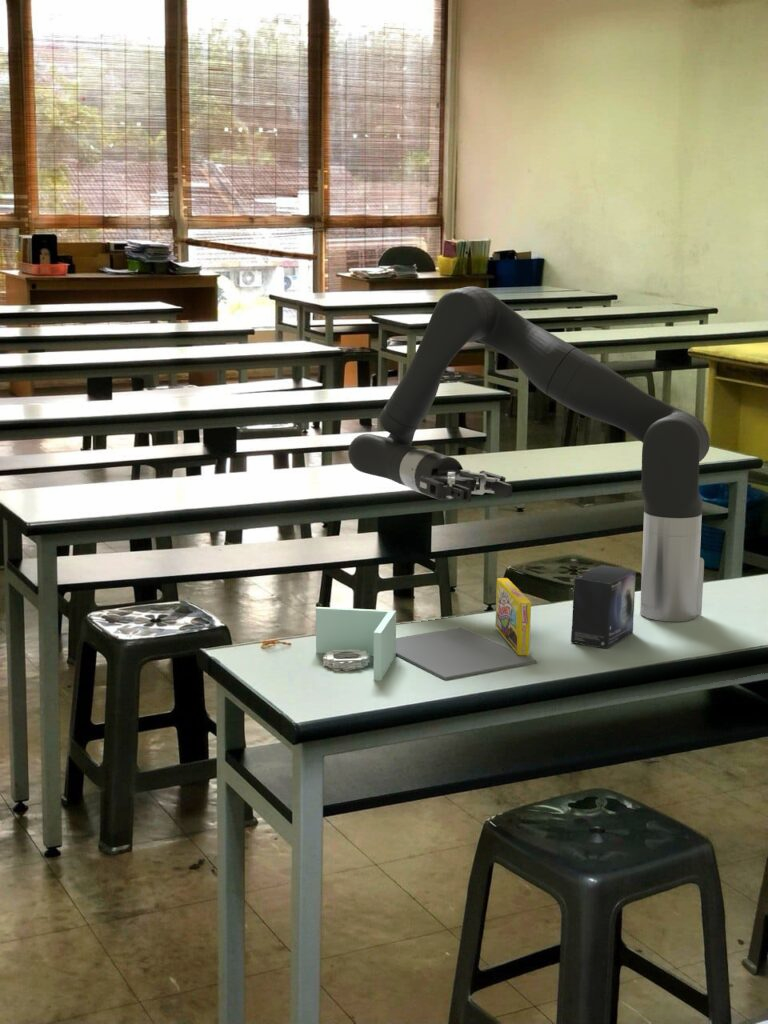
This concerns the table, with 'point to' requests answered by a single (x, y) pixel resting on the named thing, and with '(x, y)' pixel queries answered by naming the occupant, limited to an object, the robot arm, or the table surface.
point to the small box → (603, 606)
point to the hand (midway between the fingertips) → (490, 493)
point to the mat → (457, 653)
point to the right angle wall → (356, 638)
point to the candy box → (513, 616)
